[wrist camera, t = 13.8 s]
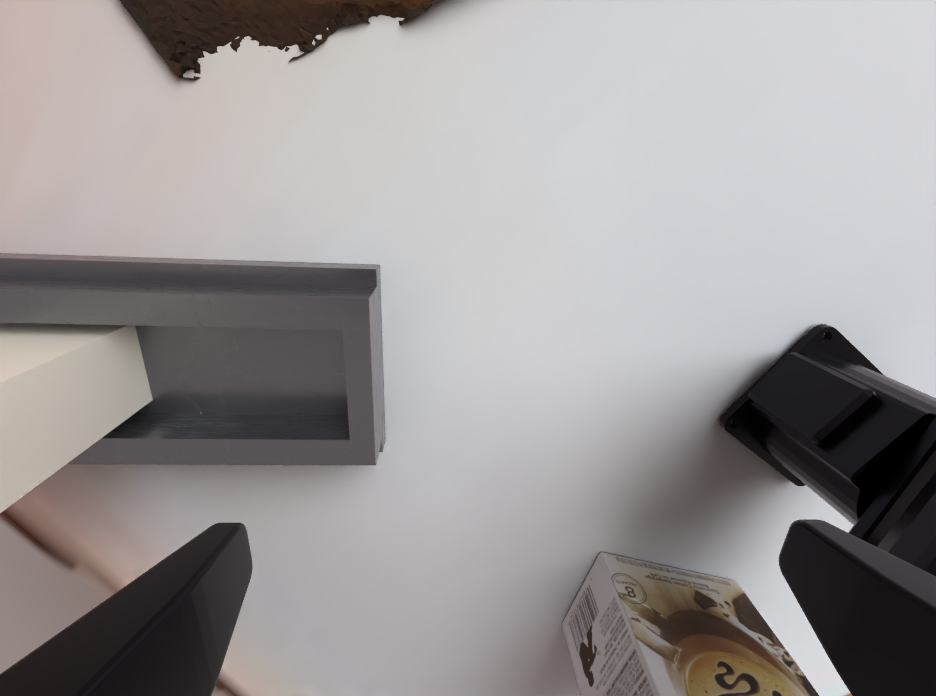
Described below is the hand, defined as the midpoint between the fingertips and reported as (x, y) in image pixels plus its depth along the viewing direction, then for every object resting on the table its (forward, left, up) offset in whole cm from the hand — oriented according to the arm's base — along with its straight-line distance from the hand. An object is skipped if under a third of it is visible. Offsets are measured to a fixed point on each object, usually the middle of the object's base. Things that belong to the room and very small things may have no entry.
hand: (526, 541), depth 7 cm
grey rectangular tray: (+9, +9, -13) cm, 18 cm away
